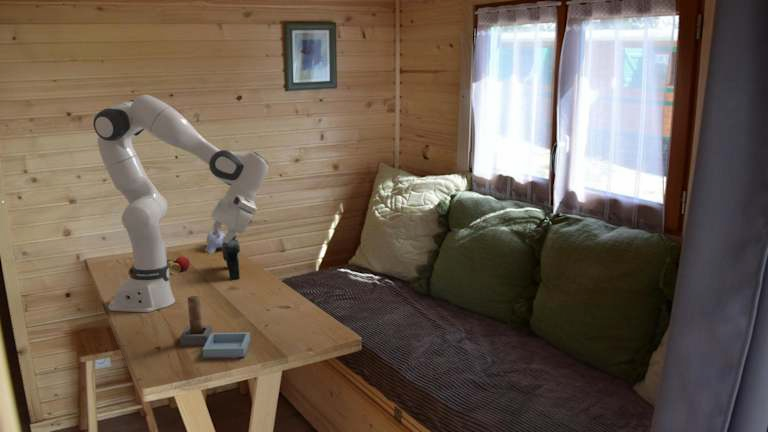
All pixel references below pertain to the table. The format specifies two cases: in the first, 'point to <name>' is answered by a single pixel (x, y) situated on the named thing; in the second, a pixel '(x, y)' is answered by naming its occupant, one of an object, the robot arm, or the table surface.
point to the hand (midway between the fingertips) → (218, 238)
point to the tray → (226, 345)
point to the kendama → (178, 265)
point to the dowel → (195, 315)
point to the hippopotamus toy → (214, 242)
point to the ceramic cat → (232, 257)
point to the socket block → (195, 336)
